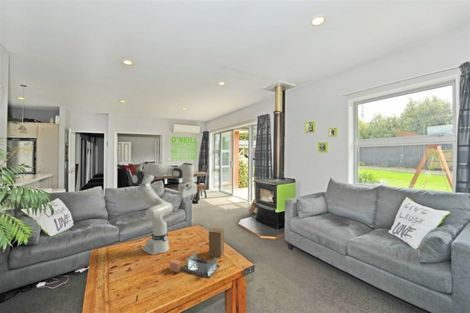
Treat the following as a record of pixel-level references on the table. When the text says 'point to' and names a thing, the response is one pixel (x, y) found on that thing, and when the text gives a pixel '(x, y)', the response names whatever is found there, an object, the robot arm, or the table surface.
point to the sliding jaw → (191, 260)
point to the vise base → (203, 267)
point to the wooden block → (216, 242)
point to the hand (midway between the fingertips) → (188, 201)
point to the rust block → (175, 265)
